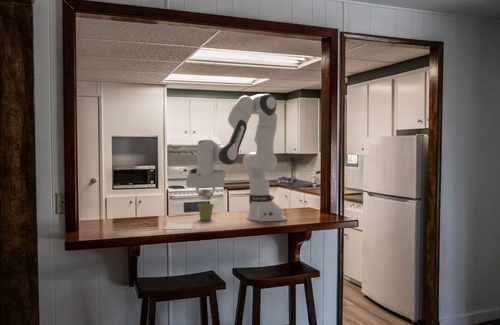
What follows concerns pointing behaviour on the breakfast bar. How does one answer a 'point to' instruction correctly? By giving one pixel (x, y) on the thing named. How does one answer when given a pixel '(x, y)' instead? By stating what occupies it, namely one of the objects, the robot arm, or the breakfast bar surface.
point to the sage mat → (178, 226)
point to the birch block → (205, 194)
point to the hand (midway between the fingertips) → (205, 196)
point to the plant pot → (205, 211)
